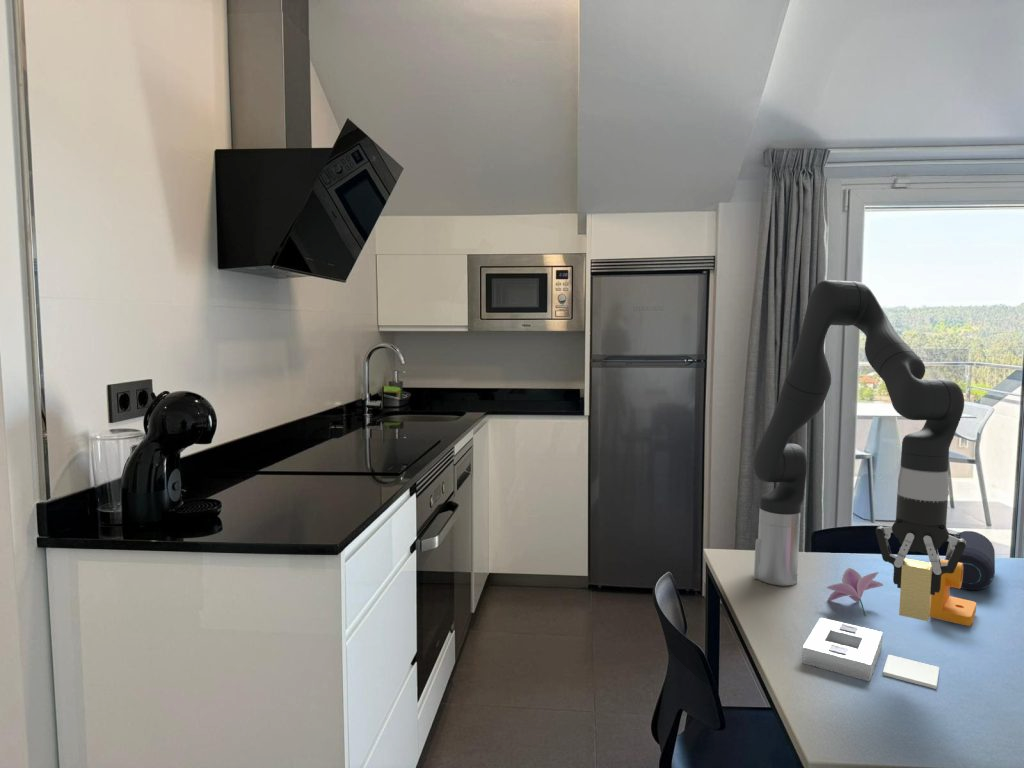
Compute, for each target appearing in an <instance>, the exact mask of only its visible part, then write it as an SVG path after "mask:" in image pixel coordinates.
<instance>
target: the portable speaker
mask: <svg viewBox="0 0 1024 768" xmlns="http://www.w3.org/2000/svg"><path fill="white" fill-rule="evenodd" d="M953 536H954V537H956V538H959V539H960V538H963V539H965V540H966V547H965V549H964V551H963V553H962V555H961V558H960V560H959V562H960V563H963V579H962V585H961V589H964V590H968V591H969V590H970V591H980V590H983V589H986V588H987V587H988V586H989V585H990V584H991V583H992V581H993V579H994V578H995V572H996V563H995V562H996V561H995V560H996V559H995V558H996V557H995V556H996V553H995V547H994V545H993V543H992V542H991V541H990V539H989V538H988V537H986V536H985V535H983V534H981V533H979V532H976V531H971V530H965V531H964V530H963V531H961V532H957V533H955V534H954V535H953ZM952 552H953V550H951V549H950V543H949V542H948V544H947V548H946V553H945V560H949V558H950V556H951V554H952Z"/></svg>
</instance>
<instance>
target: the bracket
mask: <svg viewBox="0 0 1024 768" xmlns="http://www.w3.org/2000/svg"><path fill="white" fill-rule="evenodd" d="M948 561H949V560H945V559H944V558H940V562H941V564H947V563H948ZM962 579H963V563H960V562H958V564H957V566H956V568H955V571H954V572H953V573H951V574H950V573H944V574H942V575H941V588H940V591H939V593H937V592H935V595H931V609H930V617H929V618H934V619H938V620H942V621H946V622H951V623H954V624H959V625H963V626H969V627H972V626H973V624H974V621H975V618H976V613H977V602H976V601H973V600H969V599H964V598H960V597H956V596H951V595H950V588H955V589H962V587H961V585H962Z"/></svg>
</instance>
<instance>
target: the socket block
mask: <svg viewBox="0 0 1024 768" xmlns="http://www.w3.org/2000/svg"><path fill="white" fill-rule="evenodd" d="M883 634H884V633H883V631H880V630H876V629H871V628H867V627H863V626H858V625H854V624H850V623H845V622H842V621H837V620H833V619H828V618H824V617H820V618H819V619H818V620H817V622H816V624H815V625H814V627H813V628H812V631H811V633H810V634H809V635H808V638H807V639H806V641H805V642H804V644H803V646H802V651H801V653H802V655H801V663H802V664H804V665H808V666H811V665H812V666H811V667H815V666H816V667H815V668H818V667H819V669H822V670H825V671H826V670H827V671H829V670H830V671H829V672H833V671H834V672H833V673H836V672H837V674H840V675H844V676H848V677H851V678H855V679H860V680H863V681H865V682H866V681H867V682H868V683H869V682H871V679H872V677H873V675H874V671H875V669H876V666H875V665H877V663H876V662H878V660H877V659H879V657H880V653H881V651H882V648H883ZM878 656H879V657H878Z"/></svg>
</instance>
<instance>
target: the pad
mask: <svg viewBox="0 0 1024 768" xmlns="http://www.w3.org/2000/svg"><path fill="white" fill-rule="evenodd" d="M939 674H940V666H936V665H932V664H928V663H923V662H920V661H916V660H913V659H908V658H905V657H900V656H896V655H891V654H889V653H888V655H887V657H886V661H885V664H884V667H883V671H882V676H885V677H889V678H892V679H897V680H901V681H904V682H909V683H912V684H915V685H920V686H923V687H926V688H931V689H934V690H937V687H938V683H939V682H938V680H939Z"/></svg>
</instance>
